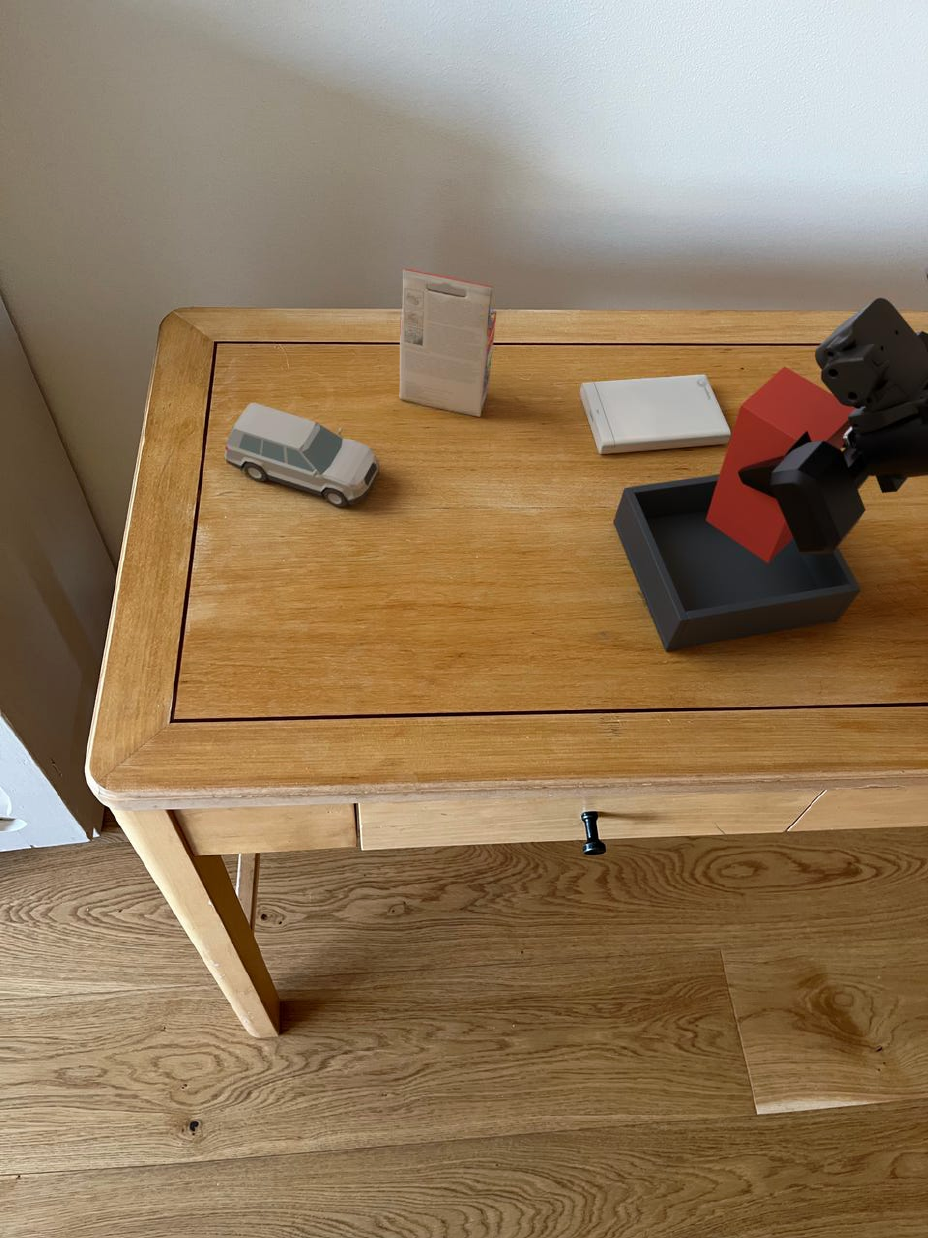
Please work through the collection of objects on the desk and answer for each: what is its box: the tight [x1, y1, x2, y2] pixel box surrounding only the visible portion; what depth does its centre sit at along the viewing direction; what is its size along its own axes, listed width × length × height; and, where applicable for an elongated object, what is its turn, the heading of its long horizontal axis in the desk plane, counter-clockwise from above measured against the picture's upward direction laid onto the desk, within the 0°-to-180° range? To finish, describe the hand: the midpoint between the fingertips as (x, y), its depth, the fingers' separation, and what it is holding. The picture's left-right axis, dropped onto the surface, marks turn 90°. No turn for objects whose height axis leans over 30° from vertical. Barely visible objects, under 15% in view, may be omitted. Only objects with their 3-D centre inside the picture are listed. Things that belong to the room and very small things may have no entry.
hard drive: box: [579, 373, 732, 455], centre depth 88 cm, size 2×8×12 cm
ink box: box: [399, 267, 497, 418], centre depth 82 cm, size 4×8×15 cm, turn 77°
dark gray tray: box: [613, 473, 862, 652], centre depth 77 cm, size 15×13×5 cm
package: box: [706, 365, 857, 563], centre depth 68 cm, size 6×5×13 cm
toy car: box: [224, 401, 380, 508], centre depth 80 cm, size 6×13×5 cm, turn 70°
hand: (761, 454), depth 68 cm, fingers closed on package, 5 cm apart
